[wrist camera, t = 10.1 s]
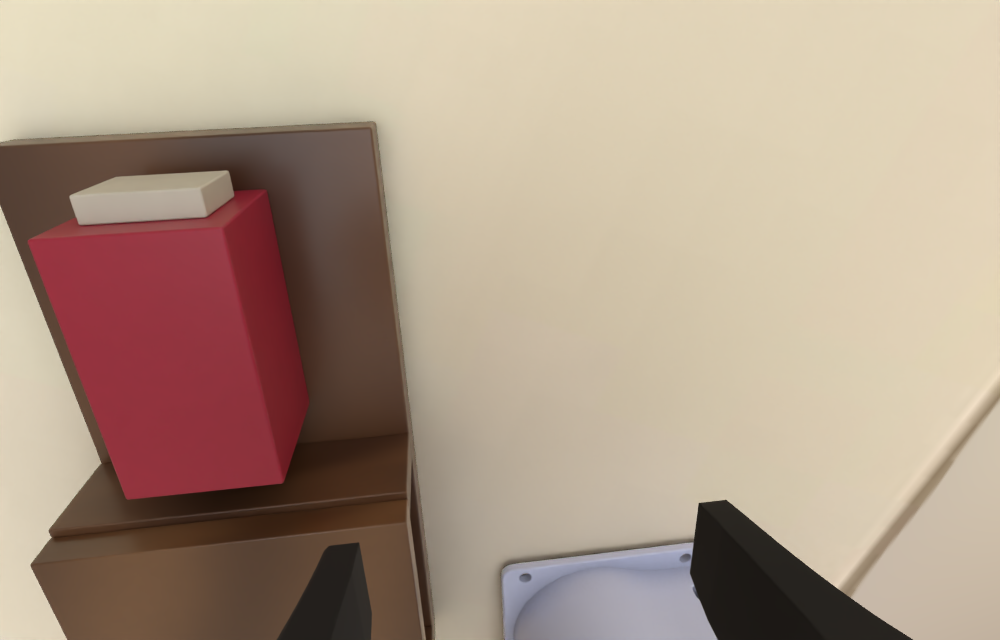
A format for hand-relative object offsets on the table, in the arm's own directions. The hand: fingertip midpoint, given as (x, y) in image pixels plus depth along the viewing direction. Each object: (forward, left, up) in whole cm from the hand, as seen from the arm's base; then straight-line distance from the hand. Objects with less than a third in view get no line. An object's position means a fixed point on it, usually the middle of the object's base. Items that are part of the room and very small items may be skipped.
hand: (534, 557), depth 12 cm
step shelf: (+8, +2, -9) cm, 13 cm away
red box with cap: (+8, -3, -8) cm, 12 cm away
